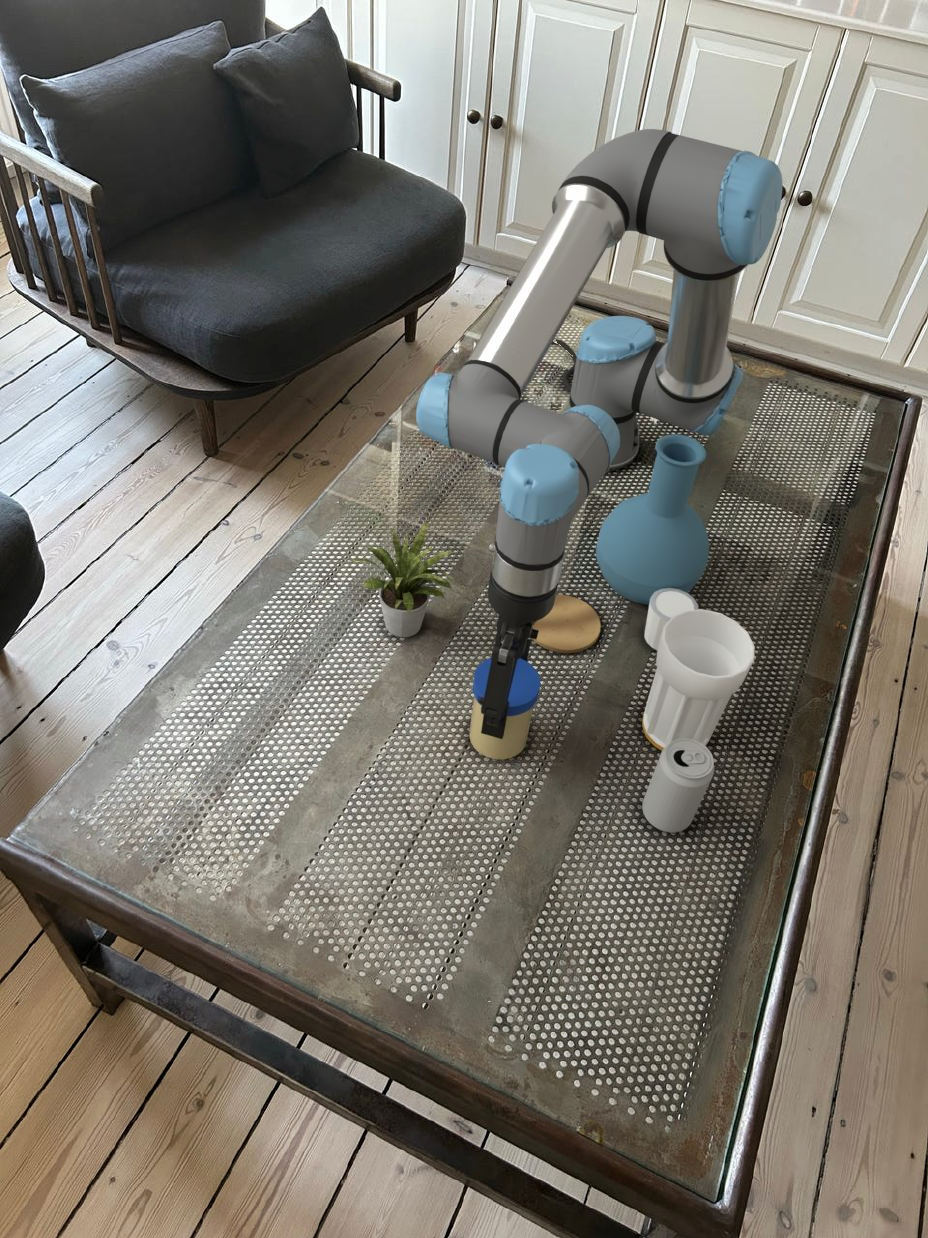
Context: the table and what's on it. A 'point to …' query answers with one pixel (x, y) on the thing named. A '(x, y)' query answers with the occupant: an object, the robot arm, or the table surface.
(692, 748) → the beverage can
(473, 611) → the table surface
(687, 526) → the vase
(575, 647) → the coaster
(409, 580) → the house plant
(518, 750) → the jar
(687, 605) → the shot glass
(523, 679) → the jar lid
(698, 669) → the cup
